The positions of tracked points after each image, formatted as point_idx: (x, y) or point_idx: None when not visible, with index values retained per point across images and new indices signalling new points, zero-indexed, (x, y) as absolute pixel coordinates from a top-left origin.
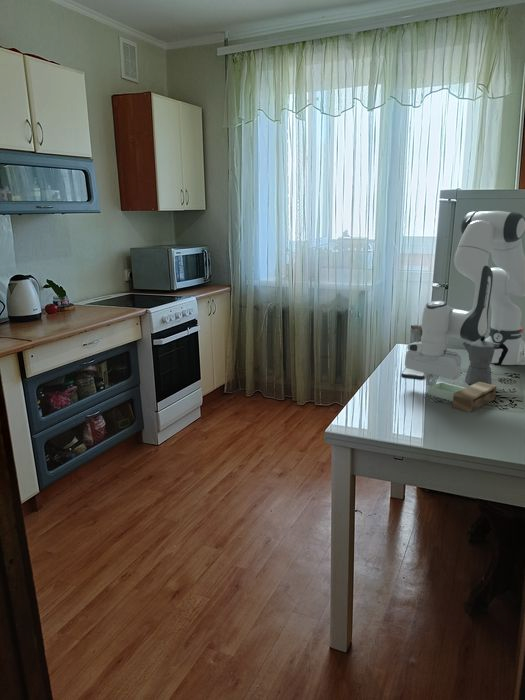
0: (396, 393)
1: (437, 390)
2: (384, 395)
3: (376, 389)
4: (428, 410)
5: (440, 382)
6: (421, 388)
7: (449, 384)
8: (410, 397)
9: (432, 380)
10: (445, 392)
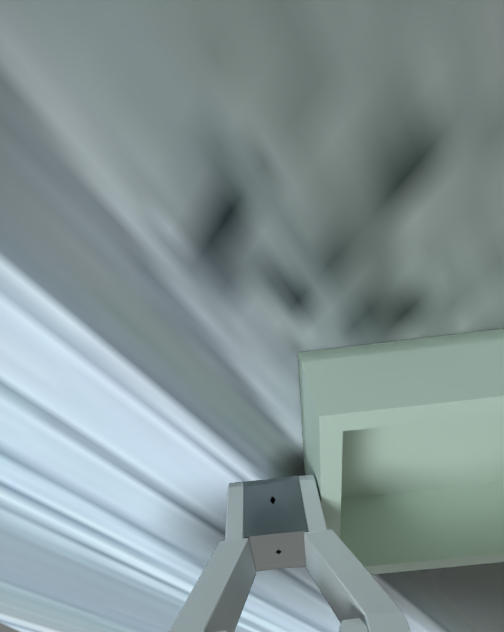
0: (167, 582)
1: (413, 554)
2: (159, 621)
3: (54, 608)
4: (436, 604)
5: (339, 440)
6: (176, 442)
7: (467, 416)
8: (264, 572)
9: (324, 593)
10: (494, 548)
